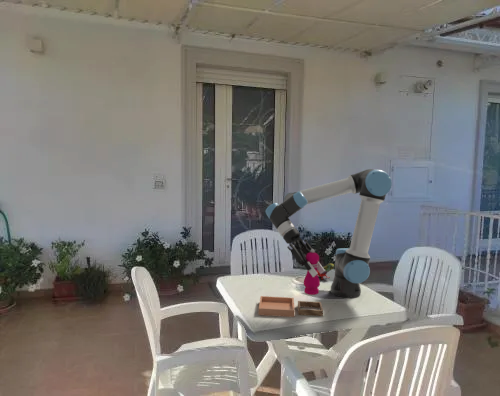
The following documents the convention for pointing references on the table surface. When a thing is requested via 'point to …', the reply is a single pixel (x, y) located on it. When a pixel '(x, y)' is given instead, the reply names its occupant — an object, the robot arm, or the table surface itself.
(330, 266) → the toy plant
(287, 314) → the terracotta tray
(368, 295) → the table surface
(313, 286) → the pepper mill
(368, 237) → the robot arm
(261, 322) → the table surface
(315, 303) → the small wooden tray
